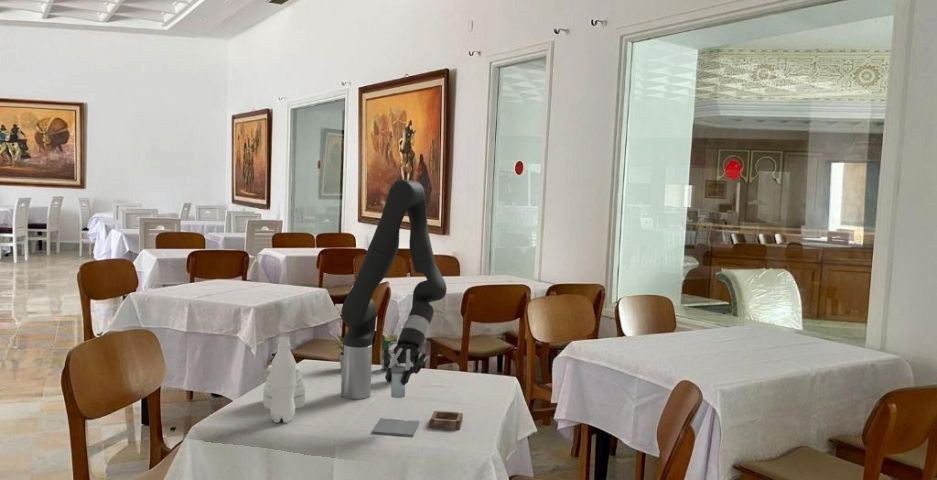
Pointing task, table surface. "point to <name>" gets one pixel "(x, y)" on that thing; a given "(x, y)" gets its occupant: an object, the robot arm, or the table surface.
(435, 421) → the walnut collar
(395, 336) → the coffee box
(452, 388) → the table surface
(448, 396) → the table surface
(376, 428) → the slate pad
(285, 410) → the water bottle
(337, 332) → the house plant
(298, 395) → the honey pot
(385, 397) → the table surface
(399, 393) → the grey-capped cylinder canister
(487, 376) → the table surface
